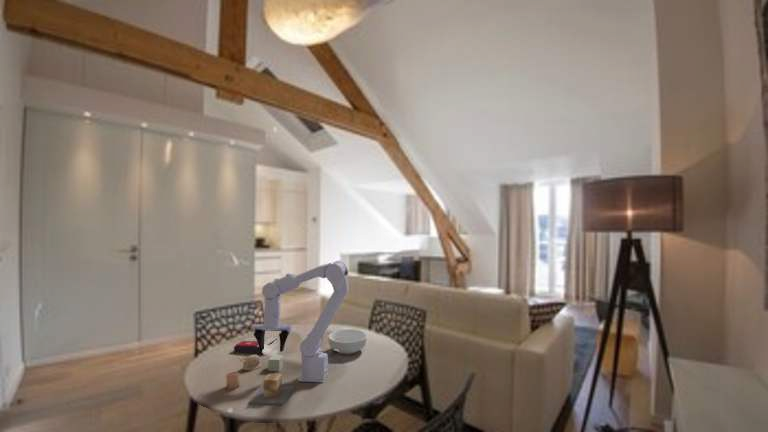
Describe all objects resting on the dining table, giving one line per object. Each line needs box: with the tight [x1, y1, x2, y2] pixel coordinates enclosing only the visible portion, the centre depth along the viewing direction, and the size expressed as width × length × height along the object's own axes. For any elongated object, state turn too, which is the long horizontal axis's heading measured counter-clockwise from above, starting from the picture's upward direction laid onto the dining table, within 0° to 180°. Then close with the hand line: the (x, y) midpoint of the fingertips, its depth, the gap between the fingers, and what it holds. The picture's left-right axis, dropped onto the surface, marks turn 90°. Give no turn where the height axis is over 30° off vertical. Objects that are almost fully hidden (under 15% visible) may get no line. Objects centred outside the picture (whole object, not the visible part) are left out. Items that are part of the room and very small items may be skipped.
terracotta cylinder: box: [225, 371, 240, 391], centre depth 120 cm, size 4×4×4 cm
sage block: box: [267, 354, 285, 372], centre depth 135 cm, size 4×4×4 cm
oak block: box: [262, 373, 283, 397], centre depth 114 cm, size 4×4×6 cm
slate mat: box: [248, 385, 295, 406], centre depth 114 cm, size 11×11×1 cm
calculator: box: [233, 337, 278, 356], centre depth 154 cm, size 11×4×15 cm
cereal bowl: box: [328, 328, 368, 355], centre depth 153 cm, size 17×17×7 cm
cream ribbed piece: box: [238, 354, 261, 371], centre depth 135 cm, size 4×8×5 cm, turn 126°
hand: (271, 350), depth 129 cm, fingers open, 7 cm apart
